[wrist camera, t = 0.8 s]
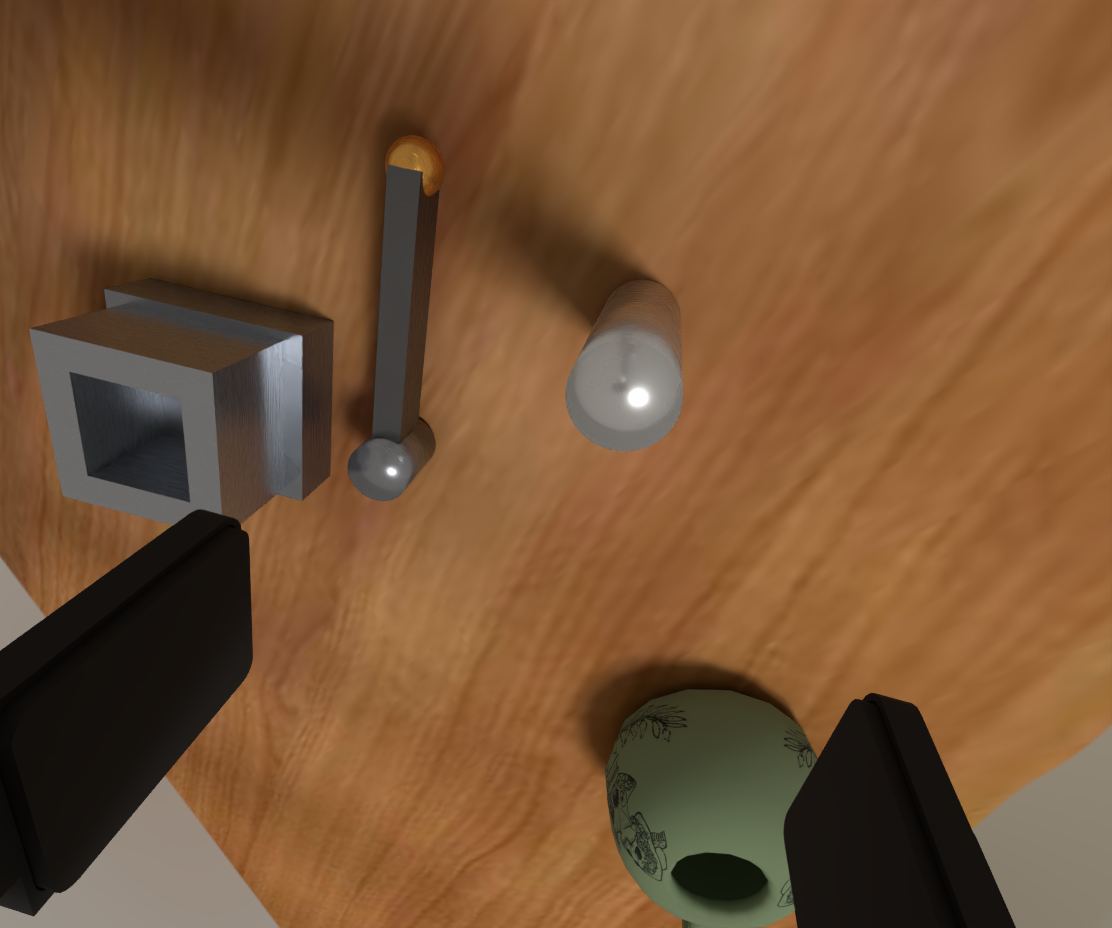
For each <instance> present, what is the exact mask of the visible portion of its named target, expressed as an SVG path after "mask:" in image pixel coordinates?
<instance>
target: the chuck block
mask: <svg viewBox="0 0 1112 928" xmlns="http://www.w3.org/2000/svg"><path fill="white" fill-rule="evenodd" d="M104 293H105V300H106V307H107V309H103V310H99V311H95V312H91V313H87V314H83V315H80V316H76V317H72V318H68V319H64V320H60V321H56V322H52V323H48V324H45V325H41V326H37V327H33V328H29V330H30V335H31V340H32V345H33V350H34V355H35V360H36V365H37V370H38V375H39V380H40V385H41V390H42V395H43V400H44V405H45V410H46V415H47V420H48V425H49V430H50V435H51V440H52V445H53V450H54V455H55V460H56V465H57V470H58V475H59V480H60V485H61V490H62V495H63V496H64V497H68V498H72V499H76V500H80V501H83V502H87V503H91V504H95V505H98V506H102V507H106V508H110V509H114V510H117V511H121V512H125V513H129V514H133V515H136V516H140V517H144V518H148V519H152V520H155V521H159V522H163V523H167V524H170V525H174V524H176V523H177V522H178V521H180V520H181V519H183V518H184V517H185V516H187V515H188V514H189V513H191V512H193V511H195V510H198V509H203V510H207V511H210V512H214V513H218V514H221V515H225V516H229V517H232V518H235V519H237V520H238V521H239V523H240V524H242V523H243V522H244V521H245V520H247V519H248V518H249V517H250V516H251V515H253V514H254V513H255V512H256V511H257V510H259V509H260V508H261V507H262V506H263V505H265V504H266V503H267V502H268V501H269V500H271V499H272V498H273V497H274V496H275V495H277V494H278V495H282V496H286V497H289V498H293V499H297V500H301V501H303V500H304V499H305V498H306V497H307V496H308V495H309V494H310V493H311V492H312V491H314V490H315V489H316V488H317V487H318V486H319V485H320V484H321V483H322V482H324V481H325V480H326V479H327V478H328V477H329V476H330V453H331V409H332V365H333V321H330V320H326V319H322V318H317V317H313V316H309V315H304V314H300V313H296V312H292V311H287V310H283V309H279V308H275V307H270V306H266V305H262V304H258V303H253V302H249V301H245V300H240V299H236V298H232V297H228V296H223V295H219V294H215V293H211V292H206V291H202V290H198V289H194V288H189V287H185V286H181V285H176V284H172V283H168V282H164V281H159V280H155V279H151V278H150V279H146V280H141V281H137V282H132V283H128V284H123V285H119V286H114V287H110V288H105V289H104Z"/></svg>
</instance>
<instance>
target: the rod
mask: <svg viewBox="0 0 1112 928" xmlns="http://www.w3.org/2000/svg"><path fill="white" fill-rule="evenodd" d="M682 398H683V394H682V351H681V314H680V308H679V305H678V302H677V300H676V298H675V297H674V295H673V294H672V293H671V291H670V290H669V289H667V288H666V287H665V286H663V285H662V284H660V283H658V282H656V281H652V280H647V279H638V280H632V281H629V282H627V283H624V284H623V285H621V286H619V287H618V288H617V289H616V290H615V291H614V292H612V294H611V295H610V296H609V298H608V300H607V301H606V303H605V305H604V307H603V309H602V311H601V313H600V315H599V317H598V319H597V321H596V323H595V325H594V327H593V329H592V331H591V333H590V335H589V337H588V339H587V341H586V343H585V345H584V347H583V349H582V351H581V353H580V355H579V357H578V359H577V361H576V363H575V365H574V367H573V369H572V371H571V373H570V375H569V378H568V381H567V385H566V405H567V409H568V413H569V415H570V417H571V420H572V421H573V423H574V425H575V426H576V427H577V429H578V430H579V431H580V432H581V433H582V434H583V435H584V436H585V437H586V438H587V439H589V440H590V441H592V442H593V443H595V444H597V445H599V446H601V447H604V448H607V449H610V450H616V451H634V450H640V449H643V448H646V447H648V446H651V445H653V444H655V443H656V442H658V441H659V440H661V439H662V438H663V437H664V436H665V435H666V434H667V433H668V432H669V431H670V430H671V429H672V427H673V426H674V425H675V423H676V421H677V419H678V417H679V414H680V411H681V407H682Z"/></svg>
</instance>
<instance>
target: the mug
mask: <svg viewBox="0 0 1112 928" xmlns="http://www.w3.org/2000/svg"><path fill="white" fill-rule="evenodd" d="M817 759H818V758H817V756H816V754H815V752H814V750H813V748H812V747H811V745H810V743H809V741H808V739H807V737H806V736H805V734H804V732H803V730H802V728H801V726H800V725H798V724H797V723H796V722H794V721H793V720H792V719H790V718H789V717H787V716H786V715H785V714H783V713H782V712H781V711H779V710H778V709H777V708H775V707H774V706H773V705H771V704H770V703H767V702H764V701H761V700H758V699H755V698H752V697H749V696H746V695H743V694H740V693H737V692H734V691H731V690H699V689H687V690H683V691H680V692H676V693H673V694H669V695H666V696H662V697H659V698H655V699H652V700H650V701H649V702H647V703H646V704H645V705H643V706H642V707H641V708H640V709H638V710H637V711H636V712H634V713H633V714H632V715H631V716H629V717H628V718H627V719H625V721H624V723H623V725H622V728H621V730H620V732H619V734H618V736H617V739H616V741H615V743H614V745H613V748H612V751H611V754H610V757H609V760H608V763H607V766H606V769H605V775H606V787H607V799H608V807H609V814H610V821H611V827H612V832H613V836H614V839H615V842H616V846H617V849H618V852H619V854H620V856H621V858H622V861H623V863H624V865H625V867H626V869H627V870H628V871H629V873H630V874H631V876H632V877H633V878H634V880H635V881H636V882H637V884H638V885H639V887H640V888H641V889H642V890H643V892H644V893H645V894H646V895H647V896H648V897H649V898H650V899H651V900H652V901H653V902H654V903H656V904H657V905H659V906H660V907H662V908H663V909H665V910H666V911H668V912H669V913H671V914H672V915H674V916H675V917H677V918H680V919H682V927H683V928H708V927H710V928H756V927H763V926H767V925H769V924H772V923H774V922H776V921H778V920H780V919H782V918H784V917H786V916H788V915H790V914H791V913H792V912H793V911H794V910H795V908H794V901H793V895H792V888H791V882H790V876H789V869H788V863H787V857H786V850H785V844H784V835H783V830H784V821H785V817H786V814H787V811H788V809H789V808H790V806H791V804H792V803H793V801H794V799H795V797H796V796H797V794H798V792H799V790H800V789H801V787H802V785H803V784H804V782H805V780H806V778H807V777H808V775H809V773H810V772H811V770H812V768H813V766H814V765H815V763H816V761H817Z"/></svg>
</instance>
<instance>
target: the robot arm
mask: <svg viewBox="0 0 1112 928" xmlns="http://www.w3.org/2000/svg"><path fill="white" fill-rule="evenodd" d="M252 659H253V647H252V616H251V584H250V553H249V536H248V534H247V532H246V531H243V530H241V524H240V523H239V521H238V520H237V519H235V518H232V517H229V516H225V515H221V514H218V513H214V512H210V511H207V510H203V509H198V510H195V511H193V512H191V513H189V514H188V515H187V516H185V517H184V518H183V519H181V520H180V521H178V522H177V523H176V524H174V525H173V526H171V527H170V528H169V529H167V530H166V531H165V532H163V533H162V534H160V535H159V536H158V537H156V538H155V539H154V540H152V541H151V542H149V543H148V544H147V545H145V546H144V547H143V548H141V549H140V550H138V551H137V552H136V553H134V554H133V555H132V556H130V557H129V558H127V559H126V560H125V561H123V562H122V563H120V564H119V565H118V566H116V567H115V568H114V569H112V570H111V571H109V572H108V573H107V574H105V575H104V576H103V577H101V578H100V579H98V580H97V581H96V582H94V583H93V584H92V585H90V586H89V587H87V588H86V589H85V590H83V591H82V592H81V593H79V594H78V595H76V596H75V597H74V598H72V599H71V600H69V601H68V602H67V603H65V604H64V605H63V606H61V607H60V608H58V609H57V610H56V611H54V612H53V613H52V614H50V615H49V616H47V617H46V618H45V619H44V620H42V621H41V622H39V623H38V624H36V625H35V626H34V627H32V628H31V629H30V630H28V631H27V632H25V633H24V634H23V635H21V636H20V637H18V638H17V639H16V640H14V641H13V642H12V643H10V644H9V645H8V646H6V647H5V648H3V649H2V650H1V651H0V906H3V907H6V908H9V909H12V910H16V911H19V912H22V913H25V914H28V915H31V916H35V915H36V914H37V912H38V911H39V910H40V909H41V908H42V906H43V905H44V904H45V903H46V902H47V900H48V899H49V898H50V897H51V896H52V895H53V893H54V892H56V893H61V892H63V891H66V890H67V889H68V888H70V887H71V886H72V885H73V884H74V883H75V882H76V881H77V880H78V879H79V878H80V877H81V875H82V874H83V873H84V872H85V871H86V870H87V868H88V867H89V866H90V865H91V864H92V862H93V861H94V860H95V859H96V858H97V856H98V855H99V854H100V853H101V852H102V850H103V849H104V848H105V847H106V846H107V844H108V843H109V842H110V841H111V840H112V838H113V837H114V836H115V835H116V834H117V832H118V831H119V830H120V829H121V828H122V826H123V825H124V824H125V823H126V822H127V820H128V819H129V818H130V817H131V816H132V814H133V813H134V812H135V811H136V810H137V808H138V807H139V806H140V805H141V804H142V802H143V801H144V800H145V799H146V798H147V796H148V795H149V794H150V793H151V791H152V790H153V789H154V788H155V787H156V785H157V784H158V783H159V782H160V781H161V780H162V778H163V777H164V776H165V775H166V774H167V772H168V771H169V770H170V769H171V768H172V766H173V765H174V764H175V763H176V762H177V760H178V759H179V758H180V757H181V755H182V754H183V753H184V752H185V751H186V749H187V748H188V747H189V746H190V745H191V743H192V742H193V741H194V740H195V739H196V737H197V736H198V735H199V734H200V733H201V731H202V730H203V729H204V728H205V727H206V725H207V724H208V723H209V722H210V721H211V719H212V718H213V717H214V716H215V715H216V713H217V712H218V711H219V710H220V709H221V707H222V706H223V705H224V704H225V703H226V701H227V700H228V699H229V698H230V697H231V695H232V694H233V693H234V692H235V691H236V689H237V688H238V687H239V686H240V685H241V683H242V682H243V681H244V679H245V678H246V676H247V674H248V672H249V670H250V668H251V664H252ZM783 835H784V844H785V850H786V857H787V863H788V869H789V876H790V882H791V888H792V895H793V901H794V908H795V914H796V920H797V927H798V928H1016V927H1015V925H1014V923H1013V920H1012V918H1011V915H1010V913H1009V911H1008V909H1007V907H1006V904H1005V902H1004V900H1003V897H1002V895H1001V893H1000V891H999V888H998V886H997V884H996V881H995V879H994V877H993V875H992V872H991V870H990V868H989V866H988V863H987V861H986V859H985V856H984V854H983V852H982V850H981V848H980V845H979V843H978V841H977V839H976V837H975V835H974V833H973V831H972V829H971V827H970V824H969V822H968V820H967V818H966V815H965V813H964V811H963V808H962V806H961V804H960V802H959V799H958V797H957V795H956V793H955V790H954V788H953V786H952V783H951V781H950V779H949V777H948V774H947V772H946V770H945V767H944V765H943V763H942V761H941V758H940V756H939V754H938V752H937V749H936V747H935V745H934V742H933V740H932V738H931V736H930V733H929V731H928V729H927V727H926V724H925V722H924V720H923V717H922V715H921V713H920V711H919V710H918V708H917V707H916V706H915V705H913V704H912V703H909V702H905V701H901V700H898V699H894V698H890V697H887V696H883V695H879V694H876V693H870V694H868V695H866V696H865V698H864V699H863V700H859V699H855V700H853V701H852V702H851V703H850V704H849V706H848V708H847V709H846V711H845V713H844V715H843V716H842V718H841V720H840V722H839V723H838V725H837V727H836V728H835V730H834V732H833V734H832V735H831V737H830V739H829V740H828V742H827V744H826V746H825V747H824V749H823V751H822V753H821V754H820V756H819V758H818V759H817V761H816V763H815V765H814V766H813V768H812V770H811V772H810V773H809V775H808V777H807V778H806V780H805V782H804V784H803V785H802V787H801V789H800V790H799V792H798V794H797V796H796V797H795V799H794V801H793V803H792V804H791V806H790V808H789V809H788V811H787V814H786V817H785V821H784V830H783Z"/></svg>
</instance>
